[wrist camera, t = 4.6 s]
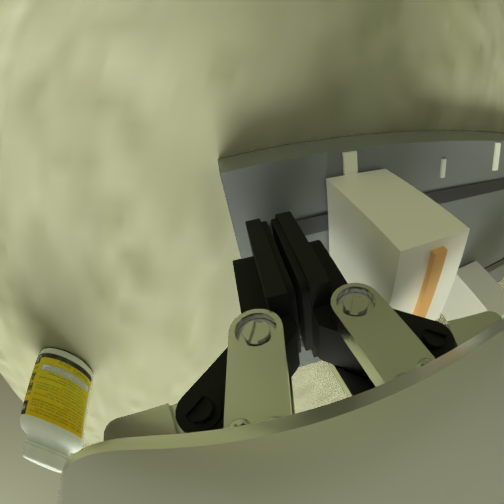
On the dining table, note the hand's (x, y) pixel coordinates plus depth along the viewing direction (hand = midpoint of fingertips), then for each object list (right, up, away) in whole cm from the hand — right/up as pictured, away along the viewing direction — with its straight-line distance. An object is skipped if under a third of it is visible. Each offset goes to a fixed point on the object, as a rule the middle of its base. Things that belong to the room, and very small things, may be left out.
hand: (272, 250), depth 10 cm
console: (+11, +1, +5) cm, 12 cm away
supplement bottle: (-17, -10, +8) cm, 21 cm away
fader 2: (+15, -3, +6) cm, 16 cm away
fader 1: (+4, +1, +1) cm, 4 cm away
